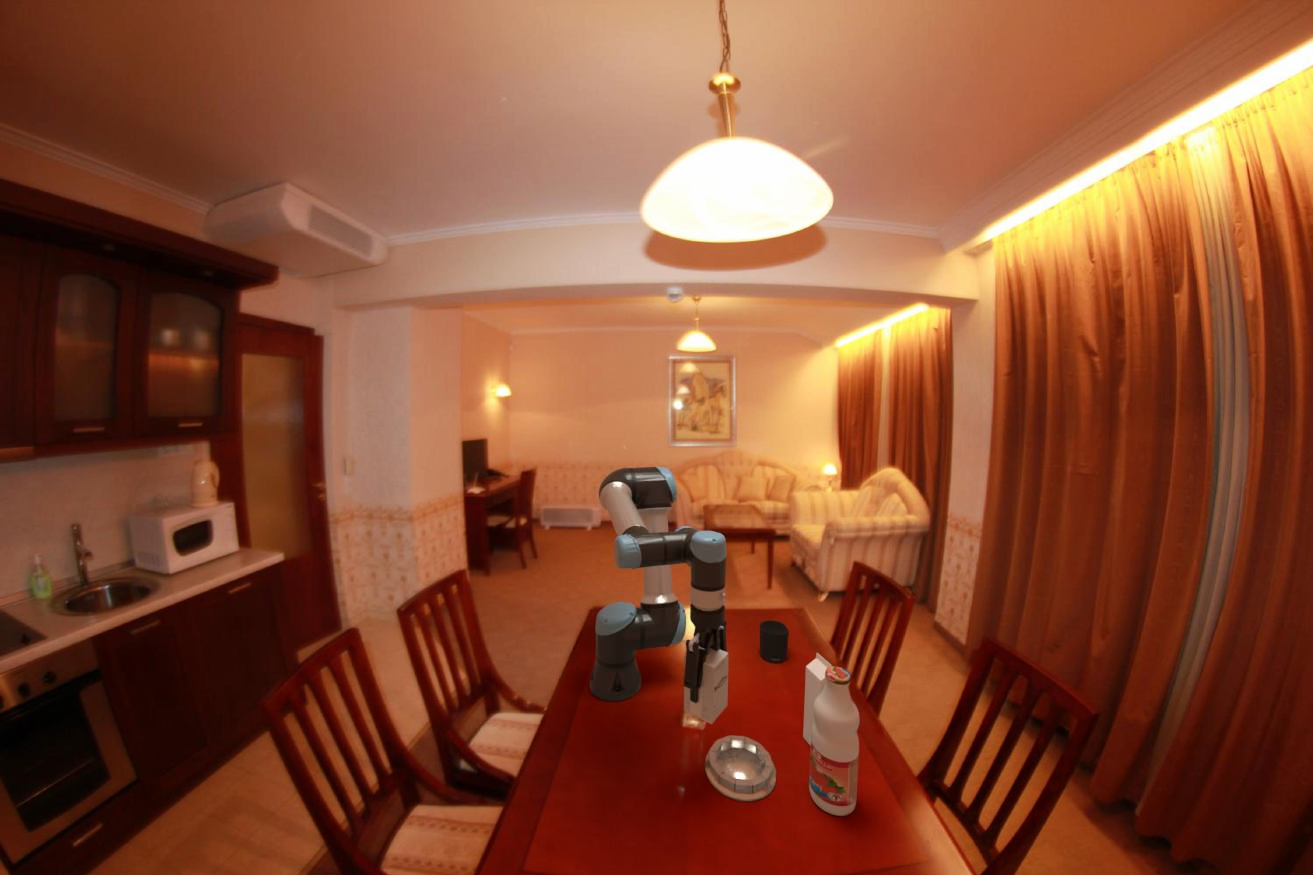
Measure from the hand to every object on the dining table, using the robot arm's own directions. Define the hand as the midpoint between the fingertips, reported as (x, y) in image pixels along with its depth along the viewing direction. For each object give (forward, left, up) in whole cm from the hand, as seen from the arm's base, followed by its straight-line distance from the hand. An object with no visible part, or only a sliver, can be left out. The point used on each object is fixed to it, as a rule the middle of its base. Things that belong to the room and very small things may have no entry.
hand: (705, 703), depth 98 cm
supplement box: (0, 0, -1) cm, 1 cm away
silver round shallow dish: (+6, +6, -17) cm, 19 cm away
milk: (+19, +25, -18) cm, 36 cm away
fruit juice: (+25, +11, -18) cm, 32 cm away
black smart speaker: (-4, +55, -18) cm, 58 cm away
